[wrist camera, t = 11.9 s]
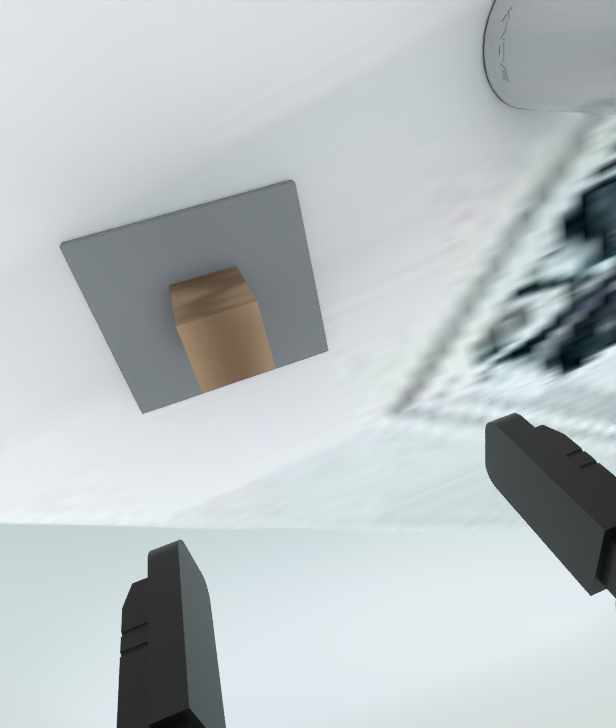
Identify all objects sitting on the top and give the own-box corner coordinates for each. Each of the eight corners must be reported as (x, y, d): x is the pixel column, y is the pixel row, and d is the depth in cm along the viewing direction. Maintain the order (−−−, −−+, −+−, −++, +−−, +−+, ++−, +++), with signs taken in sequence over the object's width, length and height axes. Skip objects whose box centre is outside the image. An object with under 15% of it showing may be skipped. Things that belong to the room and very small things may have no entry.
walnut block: (236, 265, 34) (256, 300, 29) (253, 324, 37) (275, 368, 31) (168, 285, 34) (175, 326, 28) (191, 345, 36) (202, 393, 30)
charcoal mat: (291, 180, 34) (294, 182, 33) (324, 345, 41) (328, 350, 40) (61, 243, 31) (59, 247, 30) (142, 407, 39) (142, 413, 38)
